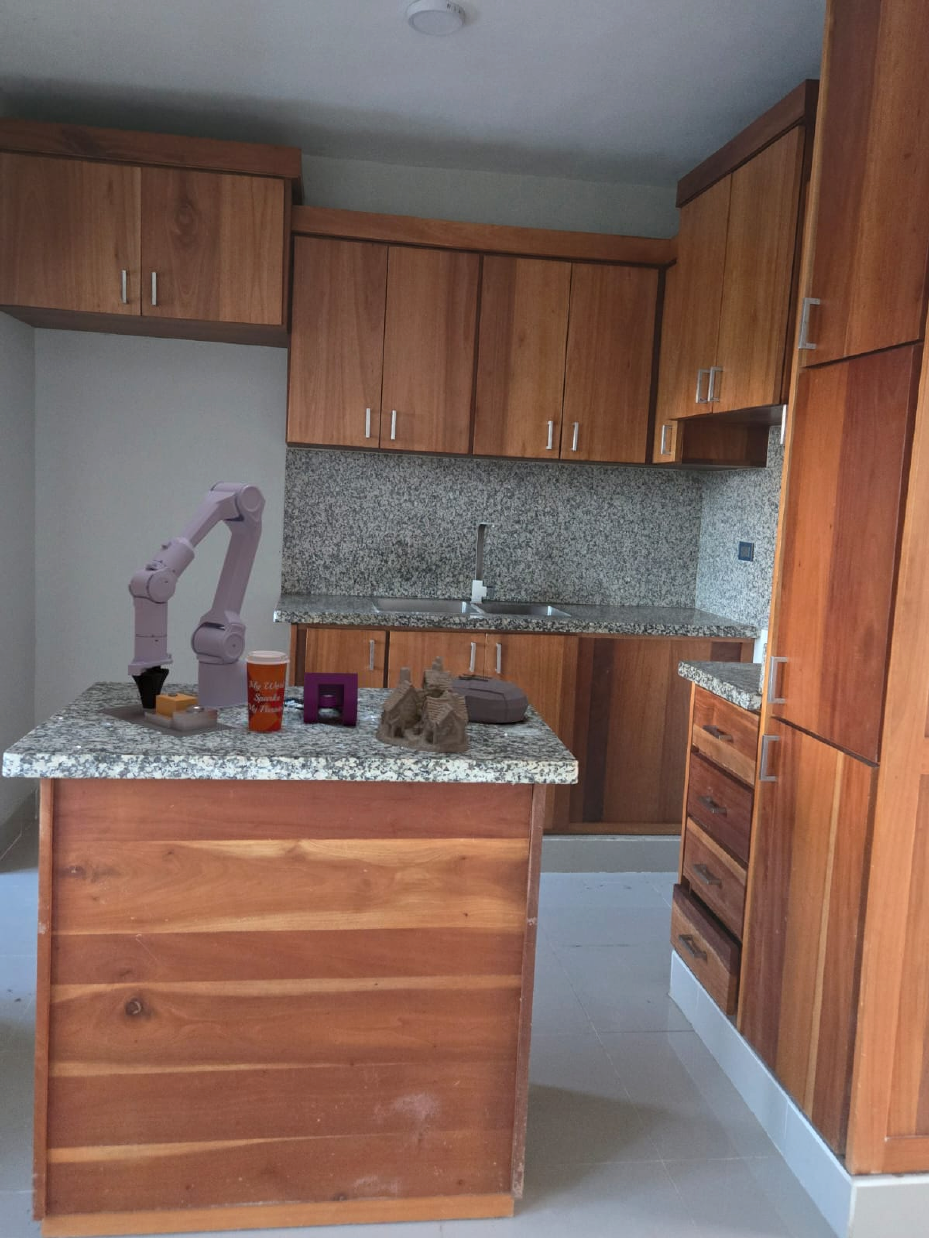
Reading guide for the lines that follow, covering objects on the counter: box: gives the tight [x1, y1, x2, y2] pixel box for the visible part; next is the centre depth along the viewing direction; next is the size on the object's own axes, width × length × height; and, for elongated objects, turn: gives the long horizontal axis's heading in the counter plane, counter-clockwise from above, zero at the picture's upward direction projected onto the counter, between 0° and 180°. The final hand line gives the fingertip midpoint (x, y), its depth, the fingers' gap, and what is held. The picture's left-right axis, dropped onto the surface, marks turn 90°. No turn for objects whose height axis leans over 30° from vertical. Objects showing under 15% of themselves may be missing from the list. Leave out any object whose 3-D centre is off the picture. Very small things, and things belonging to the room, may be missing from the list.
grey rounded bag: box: [451, 673, 530, 724], centre depth 200 cm, size 15×8×20 cm
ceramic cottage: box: [374, 656, 470, 754], centre depth 175 cm, size 16×16×15 cm
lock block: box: [156, 692, 198, 718], centre depth 179 cm, size 4×6×5 cm
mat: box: [94, 703, 236, 738], centre depth 181 cm, size 12×27×1 cm, turn 49°
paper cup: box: [244, 650, 291, 733], centre depth 177 cm, size 8×8×14 cm
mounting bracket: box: [302, 671, 359, 726], centre depth 192 cm, size 10×9×19 cm
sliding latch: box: [145, 704, 218, 732], centre depth 178 cm, size 8×11×4 cm
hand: (149, 708), depth 185 cm, fingers closed
